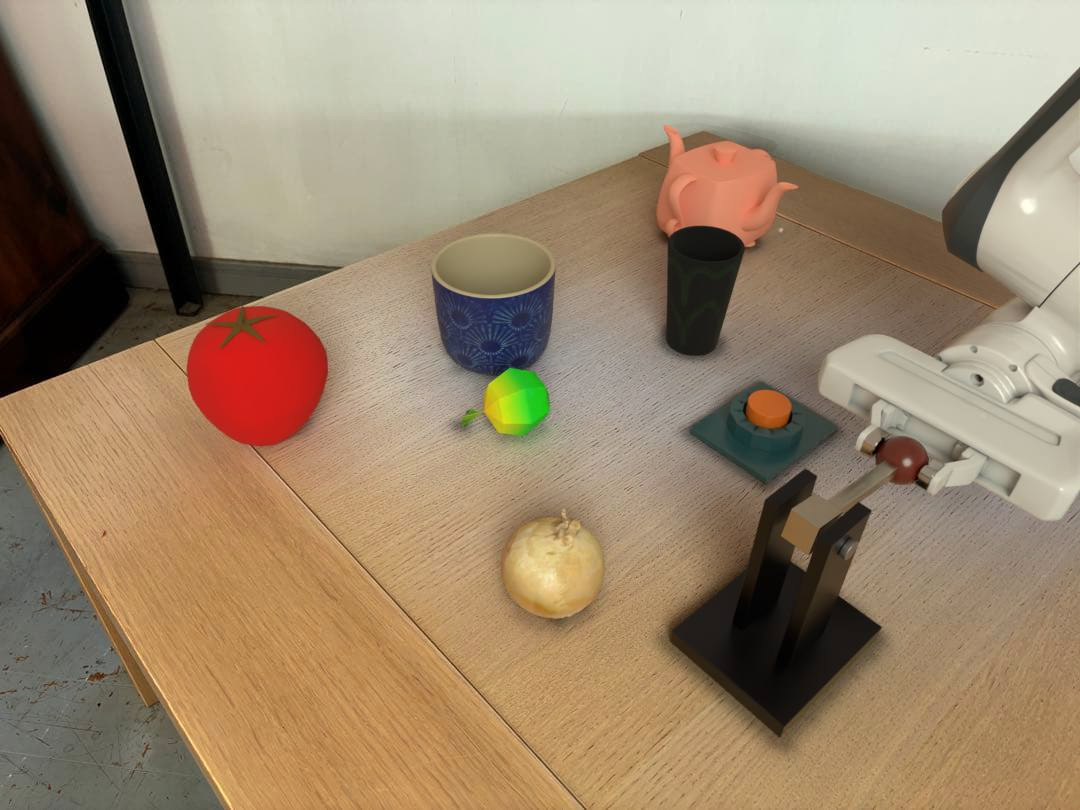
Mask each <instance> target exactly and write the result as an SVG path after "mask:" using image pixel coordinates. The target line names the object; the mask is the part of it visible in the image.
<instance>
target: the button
mask: <svg viewBox="0 0 1080 810" xmlns="http://www.w3.org/2000/svg"><path fill="white" fill-rule="evenodd" d="M779 392H780V391H779ZM779 392H776V391H772V390H759V391H756V392H754V393H752V394H751V395H750V396H749V398H748V402H747V407H746V417H747V418H748V420H749V421H751V422H752V423H754V424H755V425H757V426H760V427H764V428H769V429H775V428H781V427H783V426H785V425H786V424H787V422H788V420H789V416H790V412H791V409H792V405H791V402H790V400H789V399H788V398H787V397H786V396H784V395H783V394H784V393H783V394H781V393H782V392H781V393H779Z"/></svg>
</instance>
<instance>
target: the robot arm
mask: <svg viewBox="0 0 1080 810" xmlns="http://www.w3.org/2000/svg"><path fill="white" fill-rule="evenodd" d="M1079 148H1080V66H1079V67H1078V68H1077V69H1076V70H1075V71H1074V72H1073V73H1072V74H1071V75H1070V76H1069V77H1068V78H1067V79H1066V80H1065V82H1063V84H1061V85H1060V86H1059V88H1058V89H1057V90H1055V92H1054V93H1053V94H1052V95H1050V97H1049V98H1048V99H1047V100H1046V101H1045V102H1044V103H1043V104H1042V105H1041V107H1039V108H1038V109H1037V110H1036V112H1034V114H1032V116H1031V117H1030V118H1029V119H1028V120H1026V122H1024V124H1022V126H1021V127H1020V128H1019V129H1018V130H1017V131H1016V132H1015V133H1014V134H1013V135H1012V136H1011V137H1010V138H1009V140H1007V141H1006V142H1005V144H1004V145H1002V147H1000V149H998V150H997V151H996V152H995V153H993V154H992V155H990V156H989V157H988V158H986V159H984V161H982V162H981V163H979V164H978V165H977V166H976V167H975V168H974V169H973V170H971V171H970V172H969V173H968V174H967V175H966V176H965V177H964V178H963V179H962V180H961V181H960V182H959V183H958V184H957V186H956V187H955V188H954V190H953V191H952V193H951V194H950V196H949V198H948V200H947V202H946V203H945V205H944V207H943V208H942V211H941V224H942V232H943V237H944V242H945V246H946V250H947V252H948V253H950V254H951V255H953V256H954V257H956V258H958V259H960V260H961V261H963V262H965V263H966V264H968V265H969V266H971V267H972V268H974V269H975V270H977V271H979V272H981V273H985V274H986V275H987V276H989V277H990V278H992V279H993V280H994V281H995V282H997V283H999V285H1001V286H1002V287H1004V288H1005V289H1006V290H1008V291H1009V292H1010V293H1012V294H1013V295H1014V297H1012V298H1011V299H1009V300H1008V301H1006V302H1005V303H1003V304H1001V305H1000V306H998V307H997V308H996V309H994V310H993V311H992V312H990V313H989V314H987V316H985V317H984V319H982V320H981V322H980V323H979V324H978V325H975V326H974V327H972V328H970V329H968V330H967V331H966V332H964V333H962V334H961V335H960V336H959V337H957V338H956V339H954V341H952V342H951V343H950V344H948V345H947V346H946V347H945V348H943V349H942V350H941V351H940V352H938V353H937V354H935V355H934V356H931V355H929V354H927V353H925V352H924V351H921V350H919V349H917V348H915V347H913V346H912V345H909V344H907V343H905V342H903V341H901V340H899V339H898V338H894V337H892V336H889V335H886V334H879V333H873V334H863V335H861V336H860V337H858V338H856V339H854V340H852V341H849V342H847V343H845V344H843V345H841V346H838V347H837V348H835V349H833V350H832V351H830V352H828V353H827V354H826V356H824V358H823V361H822V363H821V366H820V369H819V372H818V375H817V391H818V394H819V395H821V396H822V397H824V398H825V399H827V400H828V401H830V402H832V403H834V404H836V405H838V406H840V408H843V409H845V410H847V411H848V412H850V413H852V414H854V415H855V416H857V417H859V418H860V419H862V420H864V421H865V424H864V430H862V431H861V432H860V433H859V435H858V437H857V440H856V442H855V444H854V450H855V451H857V452H859V453H860V454H862V455H864V456H865V457H867V458H869V459H871V460H873V459H874V458H875V456H876V452H877V450H878V448H879V447H880V445H881V444H882V443H883V442H884V441H886V440H887V439H889V435H890V436H892V437H895V436H908V437H911V438H914V439H916V440H917V441H919V442H920V443H921V444H922V445H923V446H924V448H925V449H926V451H927V453H928V457H929V458H930V459H929V462H928V464H927V465H925V466H924V467H923V468H922V469H921V470H920V472H919V474H918V479H917V480H915V482H914V483H913V485H914V486H916V487H918V488H919V489H921V490H923V491H924V492H925V493H927V494H928V495H930V496H932V497H934V496H935V495H937V493H938V492H940V490H942V488H951V487H952V488H953V487H963V486H964V487H965V486H969V485H971V484H972V483H975V484H976V485H977V486H980V487H982V488H983V489H985V490H986V491H988V492H990V493H992V494H994V495H995V496H997V497H999V498H1001V499H1003V500H1004V501H1006V502H1008V503H1009V504H1011V505H1012V506H1015V507H1017V508H1019V509H1020V510H1022V511H1023V512H1025V513H1027V514H1029V515H1031V516H1032V517H1033V518H1035V519H1036V520H1040V521H1042V522H1054V521H1056V522H1057V521H1061V520H1062V519H1063V518H1064V517H1065V515H1066V514H1067V512H1068V511H1069V510H1070V509H1071V506H1072V505H1073V503H1074V502H1075V501H1076V499H1077V498H1078V496H1079V494H1080V384H1078V383H1077V382H1078V381H1079V380H1080V174H1079V172H1078V171H1077V170H1076V169H1075V168H1074V166H1073V164H1072V163H1071V160H1070V156H1071V155H1072V154H1073V153H1074V152H1076V151H1077V150H1078V149H1079Z"/></svg>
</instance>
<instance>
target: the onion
mask: <svg viewBox="0 0 1080 810" xmlns="http://www.w3.org/2000/svg"><path fill="white" fill-rule="evenodd" d="M566 511H567V509H565V508H563V509H561V516H562V517H554V516H553V517H552V516H551V517H541V518H537V519H534V520H530V521H528V522H527V523H525V524H523V525H522V526H520V527H519V528H518V529H516V530H514V532H513V534H511V536H510V537H509V539H508V540H507V542H506V543H505V546H504V547H503V551H502V554H501V559H500V572H501V573H500V574H501V579H502V582H503V586H504V587H505V590H506V591H507V593H508V594H509V596H510V598H511V599H512V600H513V601H514V602H515V603H516V604H517V605H518V606H519V607H521V608H522V609H523V610H525V611H526V612H528V613H530V614H531V615H534V616H538V617H540V618H541V617H542V618H547V619H554V620H556V619H558V620H560V619H564V618H568V617H569V618H570V617H571V616H573V615H575V614H578V613H579V612H581V611H582V610H584V609H585V608H586V607H587V606H589V605H590V604H591V603H592V602H593V601H594V599H596V596H597V595H598V594H599V591H600V590H601V587H602V585H603V583H604V582H603V581H604V579H605V571H606V570H605V567H606V566H605V563H606V562H605V561H606V560H605V552H604V549H603V547H602V545H601V543H600V541H599V539H598V538H597V537H596V535H595V534H594V533H593V532H592V531H590V529H588V528H586V527H585V526H583V525H582V522H581V521H580V520H579V519H577V518H573V517H571V516H570V517H569V516H567V513H566Z"/></svg>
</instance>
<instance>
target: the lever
mask: <svg viewBox="0 0 1080 810" xmlns="http://www.w3.org/2000/svg"><path fill="white" fill-rule="evenodd" d="M874 458H875V459H874V463H875V467H873V468H872V469H870V470H869V471H867V472H866V473H864V474H863V475H861V476H860V477H858V478H857V479H855V480H854V481H852V482H851V483H850V484H848V485H847V486H845V487H844V488H843V489H841V490H839V491H838V492H837V493H835V494H834V495H832V496H831V497H829V498H828V499H825V498H824V497H822V496H821V495H819V494H817V493H816V492H814V493H812V495H811V496H809V497H808V498H806V499H805V500H803V501H802V502H800V503H799V504H797V505H796V506H794V507H793V508H791V510H790V513H789V515H788V518H787V520H786V523H785V526H784V528H783V531H782V533H781V537H783V538H784V539H786V540H787V541H789V542H790V543H791V544H793V545H794V546H795V548H797V549H798V550H800V551H801V552H803V553H804V554H805V555H807V556H810V555H812V553H813V550H814V547H815V544H816V541H817V538H818V536H819V535H820V534H821V533H822V532H824V531H825V530H826V529H827V528H828V527H829V526H831V525H832V524H833V523H834V522H835V521H836V520H838V519H839V518H840V517H841V516H842V515H843V514H845V513H846V512H847V511H848V510H849V509H850V508H852V507H853V506H854V505H855V504H856V503H857V502H859V503H861V502H862V501H864V500H865V499H866V498H868V497H869V496H871V495H872V494H874V493H875V492H876V491H878V490H879V489H881V488H882V487H883V486H885V484H887V483H891V484H894V485H899V486H908V485H912V484H914V483H915V480H917V479H918V474H919V472H920V470H921V469H922V468H923V467H924V466H925V465H927V464H928V462H929V461H930V457H929V456H928V453H927V451H926V449H925V448H924V446H923V445H922V444H921V443H920V442H919V441H917V440H916V439H914V438H911V437H908V436H895V437H894V436H892V437H890V438H889V437H888V438H887V440H886V441H884V442H883V443H882V444H881V445H880V447H879V448H878V450H877V452H876V455H875V457H874Z"/></svg>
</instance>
